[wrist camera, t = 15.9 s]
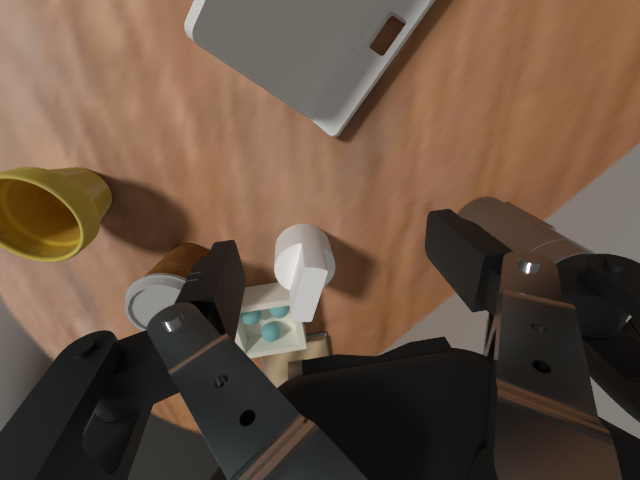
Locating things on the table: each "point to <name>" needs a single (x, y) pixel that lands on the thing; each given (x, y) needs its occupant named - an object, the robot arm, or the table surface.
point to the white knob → (303, 267)
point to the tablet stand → (305, 48)
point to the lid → (293, 360)
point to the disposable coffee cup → (161, 284)
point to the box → (251, 334)
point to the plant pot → (51, 211)
